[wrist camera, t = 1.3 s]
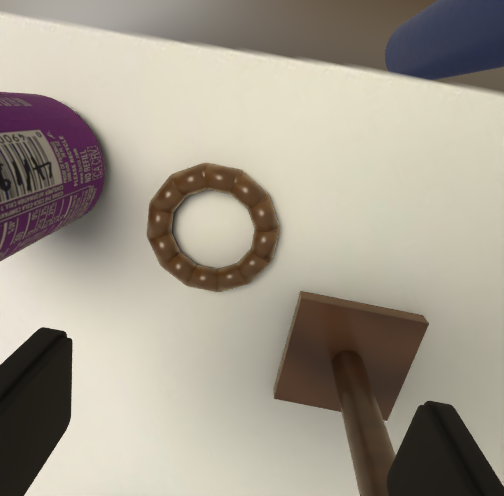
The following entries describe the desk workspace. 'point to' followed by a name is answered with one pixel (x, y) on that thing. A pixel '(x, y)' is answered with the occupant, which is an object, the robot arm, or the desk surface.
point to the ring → (223, 182)
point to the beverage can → (43, 169)
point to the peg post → (351, 373)
